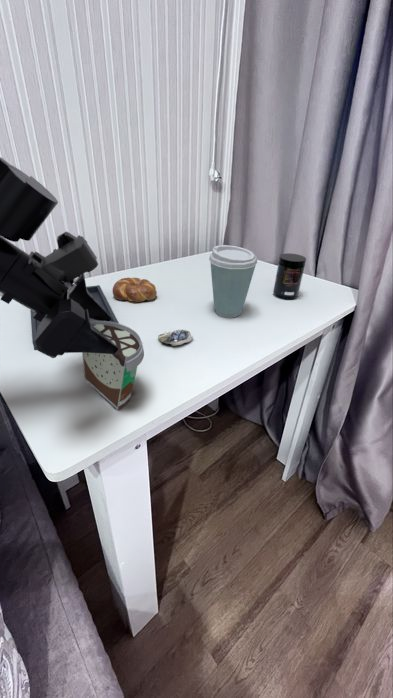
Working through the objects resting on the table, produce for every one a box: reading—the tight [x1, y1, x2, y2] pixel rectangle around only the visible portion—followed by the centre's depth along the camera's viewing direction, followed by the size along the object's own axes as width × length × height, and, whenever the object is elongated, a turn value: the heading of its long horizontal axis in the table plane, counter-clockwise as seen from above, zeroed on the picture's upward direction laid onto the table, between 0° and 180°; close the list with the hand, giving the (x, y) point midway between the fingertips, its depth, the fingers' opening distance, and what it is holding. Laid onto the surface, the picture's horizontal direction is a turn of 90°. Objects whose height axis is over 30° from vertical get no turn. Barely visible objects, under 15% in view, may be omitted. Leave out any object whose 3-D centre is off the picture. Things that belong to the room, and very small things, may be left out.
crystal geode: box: [157, 329, 194, 347], centre depth 68 cm, size 7×8×2 cm
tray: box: [29, 284, 120, 351], centre depth 74 cm, size 17×24×2 cm
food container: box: [81, 321, 145, 411], centre depth 52 cm, size 12×6×10 cm, turn 46°
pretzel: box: [112, 277, 158, 303], centre depth 85 cm, size 12×11×4 cm
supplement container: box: [272, 252, 307, 300], centre depth 87 cm, size 7×7×10 cm
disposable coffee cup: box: [208, 244, 258, 319], centre depth 76 cm, size 11×11×15 cm
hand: (113, 334), depth 49 cm, fingers open, 9 cm apart
